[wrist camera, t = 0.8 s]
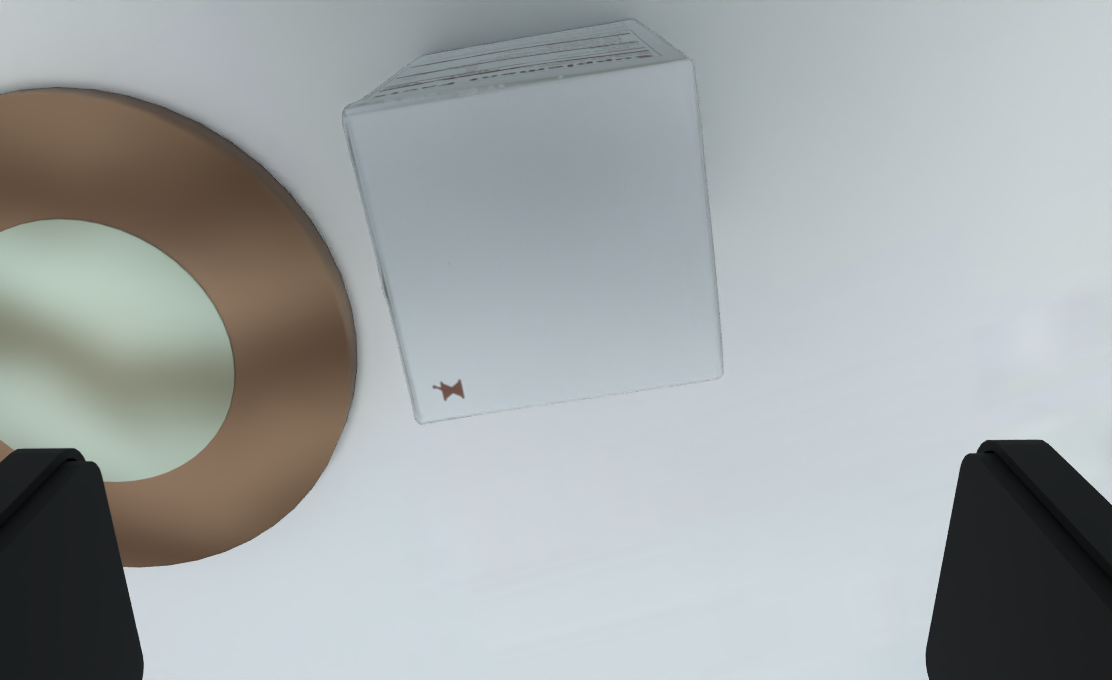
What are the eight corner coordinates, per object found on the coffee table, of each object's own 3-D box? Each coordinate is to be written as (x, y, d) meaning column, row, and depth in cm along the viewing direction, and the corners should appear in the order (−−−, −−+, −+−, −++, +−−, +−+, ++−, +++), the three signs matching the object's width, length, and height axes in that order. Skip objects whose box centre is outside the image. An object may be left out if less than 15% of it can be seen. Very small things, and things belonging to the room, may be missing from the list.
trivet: (-220, 89, 30) (-263, 97, 28) (330, 84, 30) (318, 91, 28) (-69, 546, 37) (-96, 573, 35) (376, 541, 37) (369, 567, 35)
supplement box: (664, 232, 32) (730, 393, 20) (457, 262, 32) (406, 435, 21) (642, 11, 29) (703, 52, 18) (414, 47, 30) (327, 109, 18)
